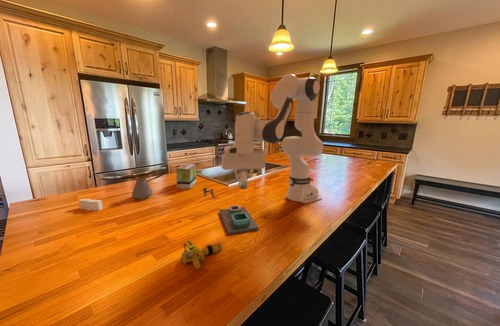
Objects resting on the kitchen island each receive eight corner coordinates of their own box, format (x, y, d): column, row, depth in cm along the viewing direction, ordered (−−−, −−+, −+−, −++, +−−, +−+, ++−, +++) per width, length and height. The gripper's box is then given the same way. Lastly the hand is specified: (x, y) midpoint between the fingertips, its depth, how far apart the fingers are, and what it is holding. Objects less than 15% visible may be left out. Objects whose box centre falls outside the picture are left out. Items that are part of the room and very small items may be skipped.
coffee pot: (130, 201, 120) (127, 177, 116) (133, 195, 130) (131, 172, 127) (169, 197, 127) (167, 174, 124) (169, 191, 138) (168, 169, 134)
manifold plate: (244, 209, 113) (244, 201, 112) (258, 229, 93) (258, 220, 92) (219, 212, 109) (219, 204, 108) (228, 234, 88) (228, 225, 87)
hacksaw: (203, 189, 144) (203, 187, 144) (218, 188, 147) (218, 186, 146) (204, 203, 121) (204, 200, 121) (222, 201, 124) (222, 199, 124)
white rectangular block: (108, 209, 110) (107, 199, 109) (82, 217, 102) (80, 206, 101) (99, 202, 120) (98, 193, 118) (74, 208, 111) (73, 198, 110)
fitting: (245, 186, 98) (246, 165, 96) (248, 188, 94) (249, 167, 92) (237, 186, 96) (238, 166, 94) (240, 189, 93) (240, 167, 91)
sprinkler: (230, 249, 72) (187, 265, 63) (231, 260, 72) (188, 277, 64) (208, 231, 88) (172, 241, 79) (209, 240, 88) (173, 251, 80)
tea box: (190, 189, 143) (189, 168, 140) (176, 188, 143) (175, 168, 140) (196, 182, 158) (195, 163, 154) (183, 182, 158) (182, 163, 154)
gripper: (263, 147, 98) (261, 175, 100) (220, 147, 91) (220, 177, 94) (268, 149, 92) (266, 178, 95) (223, 149, 85) (223, 181, 88)
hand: (243, 178), depth 94 cm, fingers closed on fitting, 4 cm apart
